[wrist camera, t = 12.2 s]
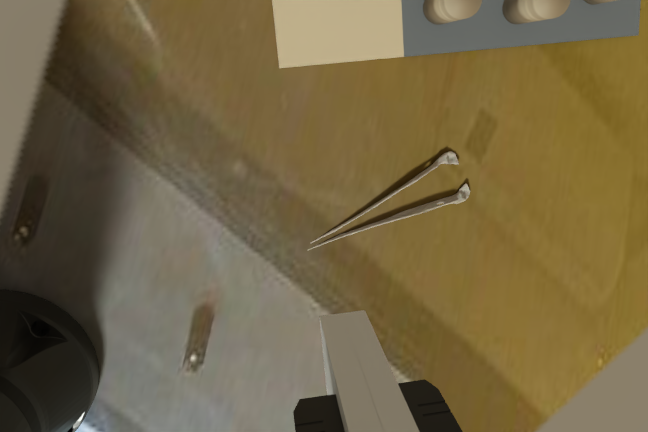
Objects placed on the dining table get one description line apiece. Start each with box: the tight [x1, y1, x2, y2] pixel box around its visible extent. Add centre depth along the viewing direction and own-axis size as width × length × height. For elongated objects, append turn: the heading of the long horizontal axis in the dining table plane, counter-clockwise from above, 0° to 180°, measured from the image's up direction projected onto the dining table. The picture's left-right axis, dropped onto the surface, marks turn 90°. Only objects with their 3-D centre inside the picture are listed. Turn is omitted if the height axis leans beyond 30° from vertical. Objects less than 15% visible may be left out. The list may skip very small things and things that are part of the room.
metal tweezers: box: [308, 151, 470, 250], centre depth 48 cm, size 17×5×2 cm, turn 115°
